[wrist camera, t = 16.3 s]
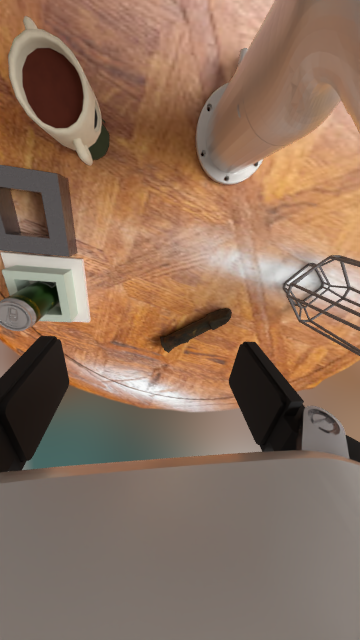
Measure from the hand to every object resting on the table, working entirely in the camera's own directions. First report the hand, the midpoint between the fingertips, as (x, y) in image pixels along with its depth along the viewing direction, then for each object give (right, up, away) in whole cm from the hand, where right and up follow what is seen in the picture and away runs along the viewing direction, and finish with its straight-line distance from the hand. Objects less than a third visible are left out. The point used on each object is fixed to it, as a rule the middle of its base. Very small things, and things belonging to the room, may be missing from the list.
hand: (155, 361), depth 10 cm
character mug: (-13, +31, +20) cm, 39 cm away
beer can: (-25, +8, +29) cm, 40 cm away
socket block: (-24, +21, +23) cm, 40 cm away
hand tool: (+5, +1, +39) cm, 39 cm away
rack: (-26, +9, +30) cm, 40 cm away
